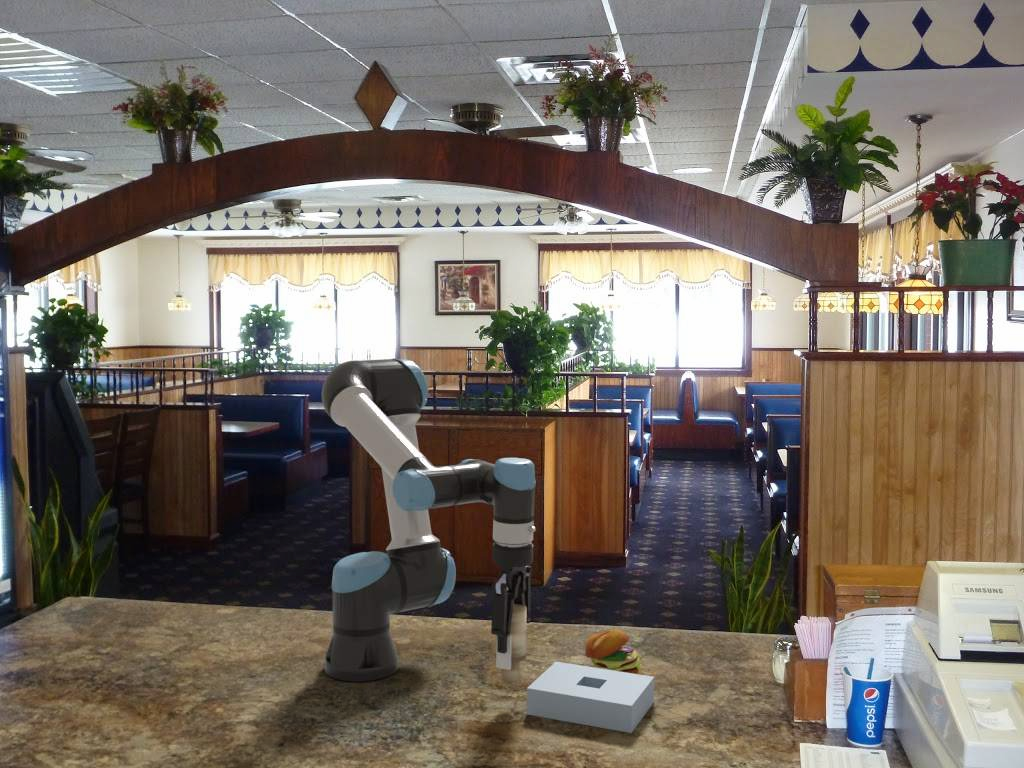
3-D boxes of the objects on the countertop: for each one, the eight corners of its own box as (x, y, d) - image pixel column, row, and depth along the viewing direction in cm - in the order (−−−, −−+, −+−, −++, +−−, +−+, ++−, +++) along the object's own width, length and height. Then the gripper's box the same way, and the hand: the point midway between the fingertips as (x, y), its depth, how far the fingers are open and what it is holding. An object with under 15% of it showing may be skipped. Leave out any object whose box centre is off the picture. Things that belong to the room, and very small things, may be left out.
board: (526, 714, 186) (527, 688, 186) (555, 686, 200) (555, 661, 200) (631, 733, 178) (631, 705, 178) (653, 702, 192) (654, 676, 192)
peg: (489, 682, 189) (491, 609, 187) (502, 671, 194) (503, 600, 193) (518, 687, 186) (520, 614, 185) (530, 676, 192) (531, 605, 190)
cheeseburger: (641, 683, 201) (630, 635, 201) (589, 692, 203) (578, 644, 203) (645, 665, 211) (634, 619, 211) (595, 673, 213) (584, 627, 213)
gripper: (511, 556, 177) (509, 683, 180) (550, 533, 195) (547, 649, 197) (473, 551, 180) (471, 676, 183) (514, 528, 197) (511, 643, 200)
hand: (510, 662), depth 190 cm, fingers closed on peg, 6 cm apart
